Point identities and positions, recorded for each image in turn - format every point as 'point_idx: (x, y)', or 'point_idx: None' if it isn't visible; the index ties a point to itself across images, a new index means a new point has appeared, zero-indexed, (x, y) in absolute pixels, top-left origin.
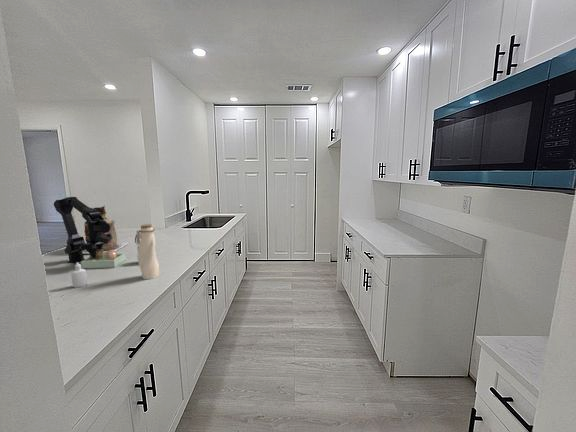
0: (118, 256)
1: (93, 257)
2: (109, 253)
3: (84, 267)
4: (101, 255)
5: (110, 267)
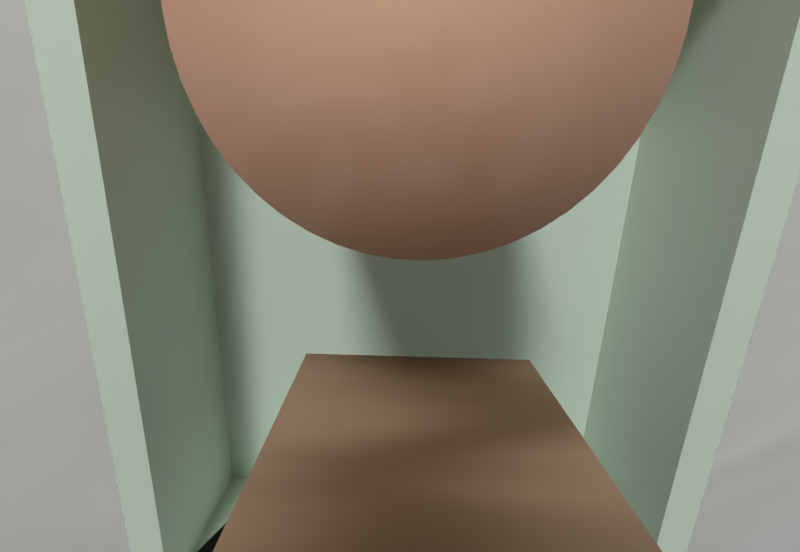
0: (135, 24)
1: None
2: (671, 9)
3: None
4: (418, 399)
5: None
